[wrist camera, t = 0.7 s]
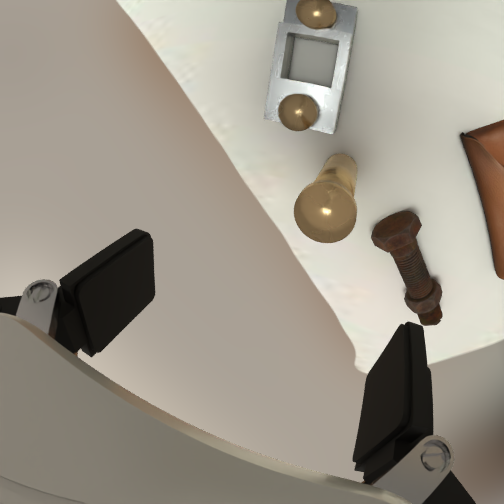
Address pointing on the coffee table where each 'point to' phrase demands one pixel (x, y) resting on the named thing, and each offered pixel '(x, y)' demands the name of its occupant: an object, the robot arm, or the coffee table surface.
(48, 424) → the robot arm
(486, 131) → the sunglasses case
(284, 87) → the brass knob on bracket
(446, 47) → the coffee table surface
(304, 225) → the link pin
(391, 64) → the coffee table surface
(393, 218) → the bolt
